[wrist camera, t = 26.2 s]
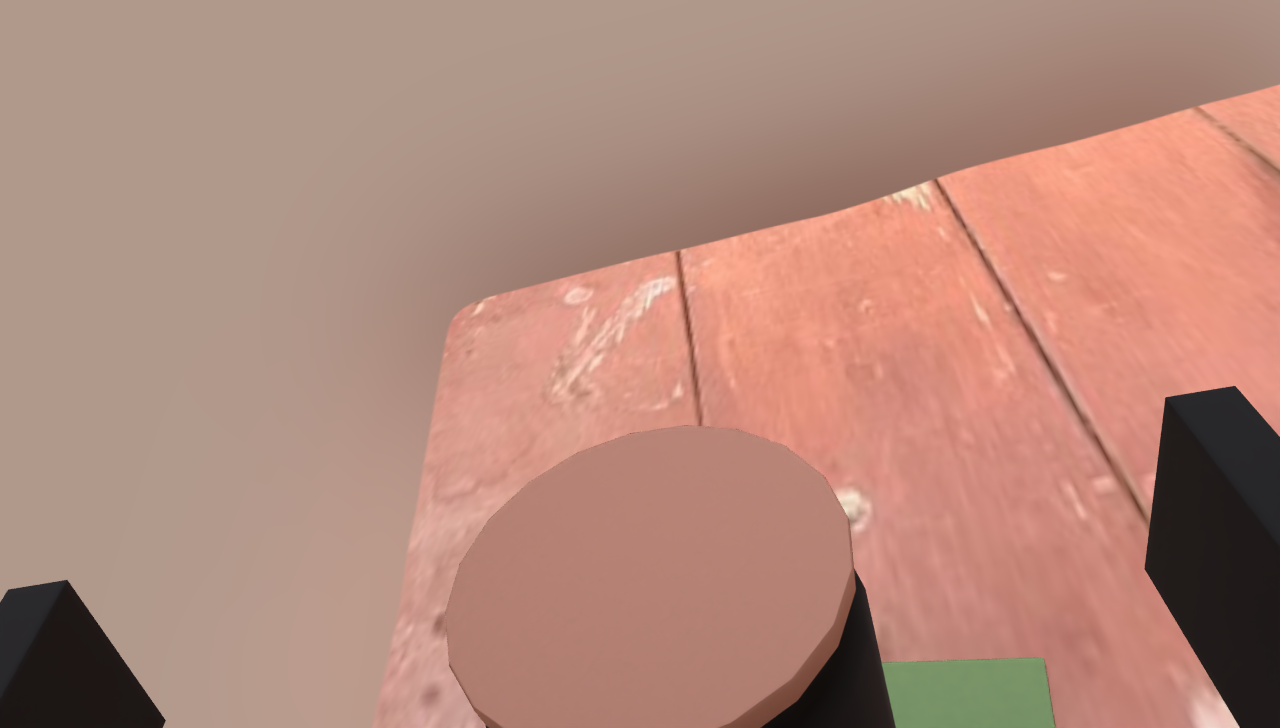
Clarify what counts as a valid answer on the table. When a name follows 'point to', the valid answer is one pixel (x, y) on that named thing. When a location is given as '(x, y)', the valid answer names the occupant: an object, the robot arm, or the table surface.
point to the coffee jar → (668, 594)
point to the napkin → (970, 693)
